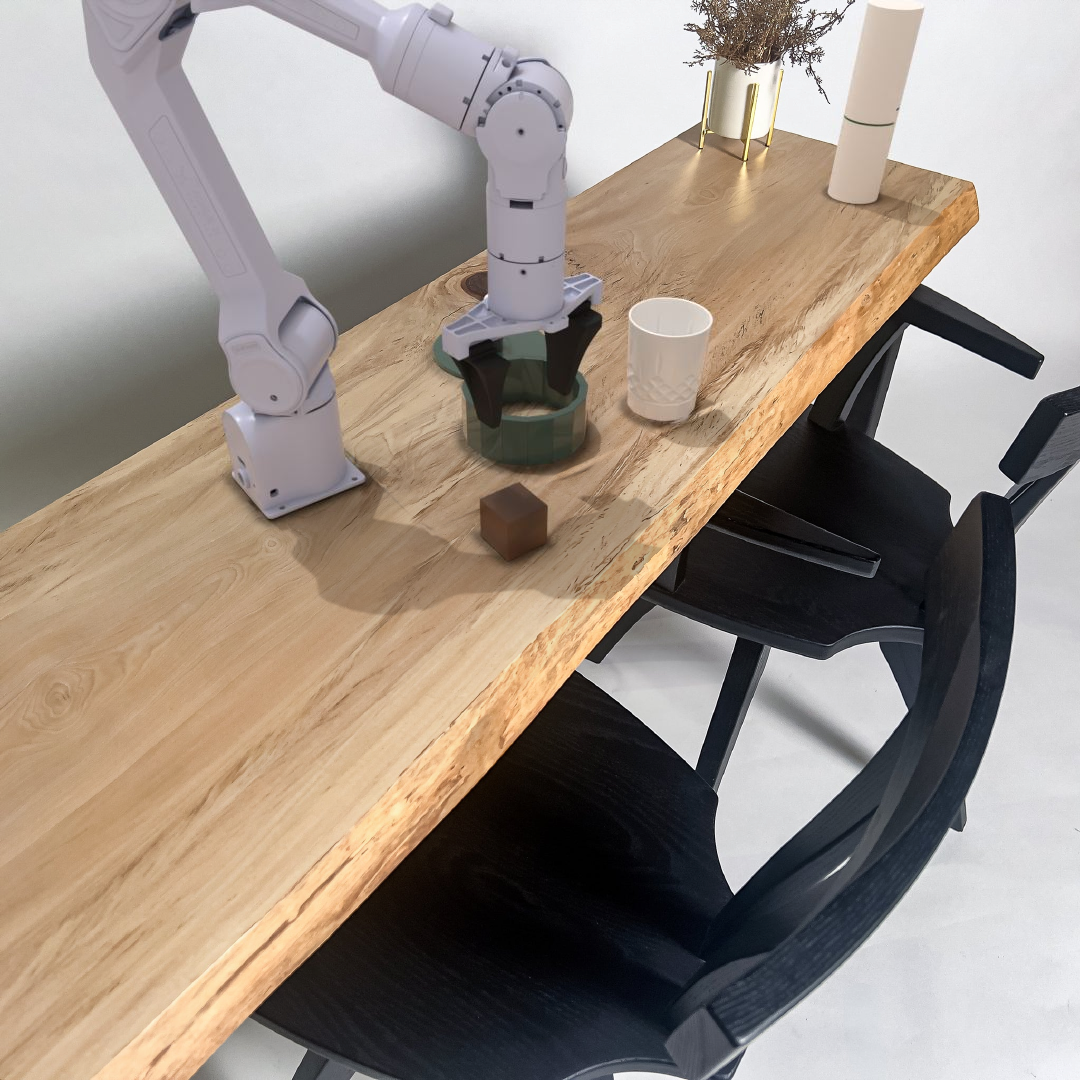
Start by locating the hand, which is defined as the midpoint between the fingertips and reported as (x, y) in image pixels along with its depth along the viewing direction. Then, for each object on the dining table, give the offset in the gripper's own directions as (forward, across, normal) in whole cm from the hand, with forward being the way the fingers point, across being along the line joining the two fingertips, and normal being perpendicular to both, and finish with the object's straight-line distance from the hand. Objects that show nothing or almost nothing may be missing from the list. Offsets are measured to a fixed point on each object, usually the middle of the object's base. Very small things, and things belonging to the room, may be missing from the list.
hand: (524, 405), depth 79 cm
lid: (+9, +13, +21) cm, 26 cm away
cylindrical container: (+10, +84, +24) cm, 88 cm away
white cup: (+10, +20, +2) cm, 22 cm away
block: (+10, -4, -4) cm, 11 cm away
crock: (+10, +6, +8) cm, 14 cm away
